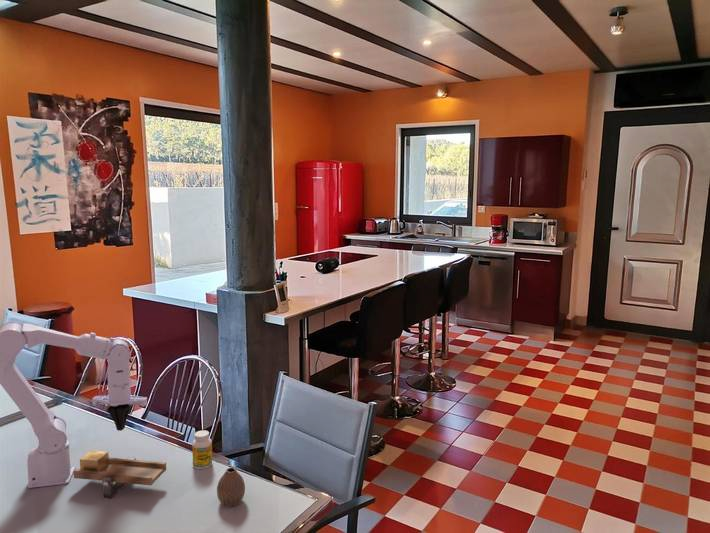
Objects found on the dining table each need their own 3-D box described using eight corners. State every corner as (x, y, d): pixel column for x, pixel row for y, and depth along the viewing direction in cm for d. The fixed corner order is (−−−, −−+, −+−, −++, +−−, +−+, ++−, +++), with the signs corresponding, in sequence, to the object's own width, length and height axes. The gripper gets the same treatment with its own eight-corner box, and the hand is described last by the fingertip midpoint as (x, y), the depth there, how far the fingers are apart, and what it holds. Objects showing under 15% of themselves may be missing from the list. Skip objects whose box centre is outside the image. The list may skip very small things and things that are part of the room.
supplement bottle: (208, 458, 151) (208, 427, 149) (214, 466, 146) (214, 434, 145) (190, 463, 148) (189, 431, 146) (195, 471, 143) (195, 439, 142)
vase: (250, 497, 132) (250, 465, 131) (235, 513, 126) (235, 479, 124) (227, 491, 134) (226, 460, 133) (211, 506, 128) (211, 474, 127)
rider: (80, 471, 134) (79, 459, 133) (92, 462, 138) (91, 450, 138) (98, 473, 133) (97, 460, 133) (109, 464, 138) (108, 451, 137)
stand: (102, 499, 129) (101, 480, 129) (130, 473, 142) (129, 456, 141) (109, 500, 129) (108, 481, 128) (137, 473, 141) (136, 456, 141)
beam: (73, 477, 133) (73, 470, 132) (93, 462, 140) (92, 456, 140) (151, 485, 129) (150, 478, 129) (166, 469, 137) (166, 462, 137)
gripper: (85, 387, 139) (87, 434, 141) (139, 389, 139) (140, 436, 141) (98, 378, 146) (100, 423, 148) (149, 379, 146) (150, 424, 148)
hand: (120, 428), depth 145 cm, fingers closed
